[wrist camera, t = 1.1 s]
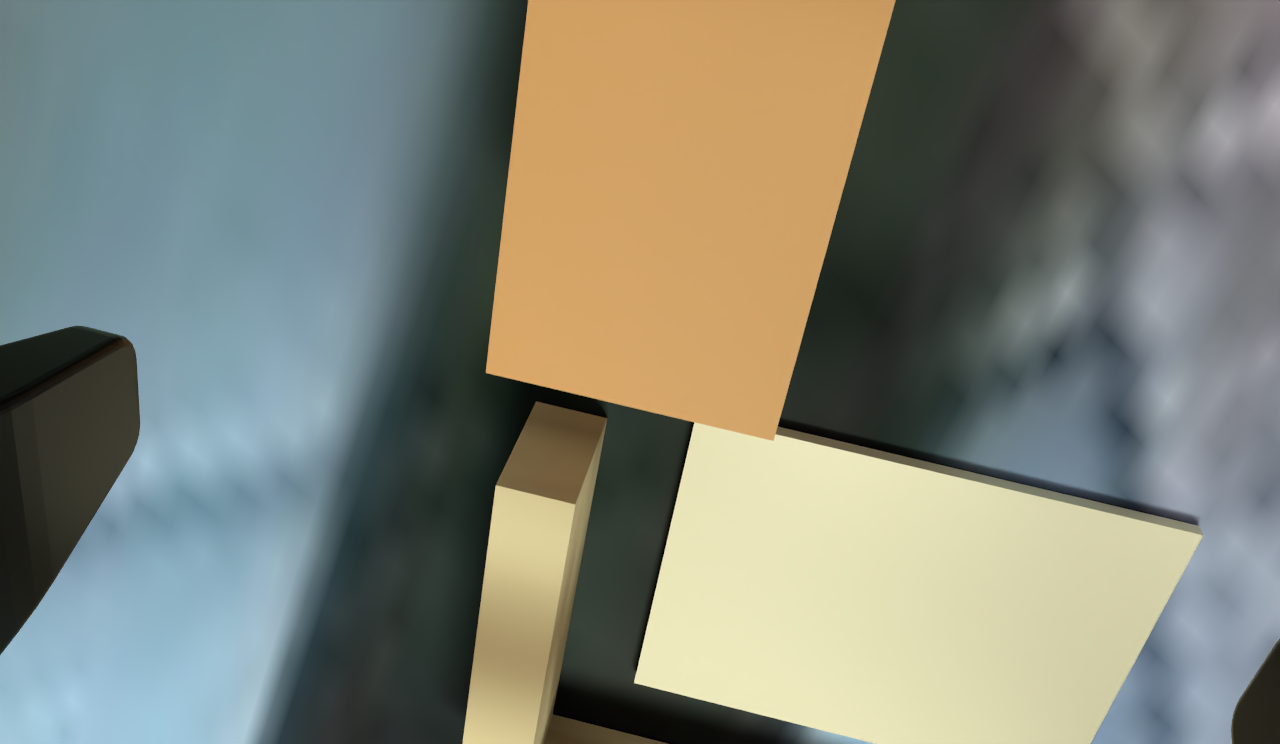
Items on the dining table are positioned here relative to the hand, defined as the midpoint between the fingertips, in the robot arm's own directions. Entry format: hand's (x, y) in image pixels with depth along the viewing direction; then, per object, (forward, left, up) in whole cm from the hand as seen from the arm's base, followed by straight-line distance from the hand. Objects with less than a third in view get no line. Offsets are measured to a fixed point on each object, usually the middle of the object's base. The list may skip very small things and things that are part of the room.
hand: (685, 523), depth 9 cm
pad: (-10, -5, -12) cm, 17 cm away
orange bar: (0, +1, -13) cm, 13 cm away
